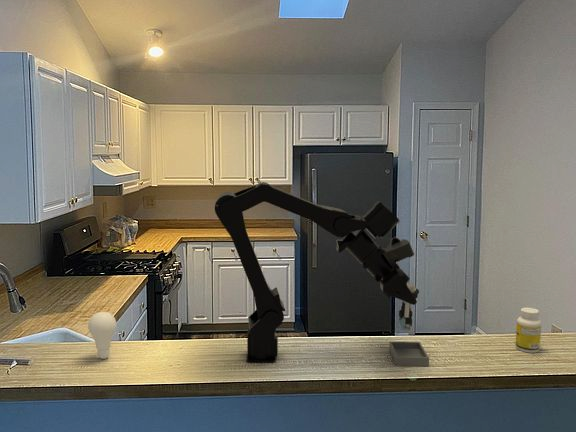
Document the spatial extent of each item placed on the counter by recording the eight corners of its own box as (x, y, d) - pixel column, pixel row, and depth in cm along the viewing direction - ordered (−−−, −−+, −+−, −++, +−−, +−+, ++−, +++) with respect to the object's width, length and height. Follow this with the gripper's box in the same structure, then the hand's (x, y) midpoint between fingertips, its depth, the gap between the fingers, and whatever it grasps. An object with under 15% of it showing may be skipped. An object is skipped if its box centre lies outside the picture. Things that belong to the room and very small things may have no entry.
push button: (419, 333, 123) (422, 292, 121) (395, 332, 123) (398, 290, 121) (414, 322, 130) (417, 282, 128) (391, 321, 130) (394, 281, 128)
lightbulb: (123, 356, 125) (121, 310, 124) (104, 366, 120) (102, 318, 118) (103, 351, 128) (101, 306, 126) (83, 361, 123) (81, 314, 121)
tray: (395, 365, 121) (396, 357, 121) (389, 349, 130) (389, 341, 130) (428, 366, 121) (429, 357, 121) (419, 349, 130) (419, 342, 130)
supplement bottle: (518, 343, 135) (520, 305, 133) (541, 348, 132) (544, 309, 130) (512, 349, 130) (515, 310, 129) (537, 355, 127) (540, 315, 126)
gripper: (401, 235, 114) (450, 287, 116) (385, 221, 133) (428, 266, 134) (362, 271, 115) (412, 322, 117) (352, 252, 134) (395, 296, 135)
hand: (412, 299), depth 126 cm, fingers closed on push button, 5 cm apart
